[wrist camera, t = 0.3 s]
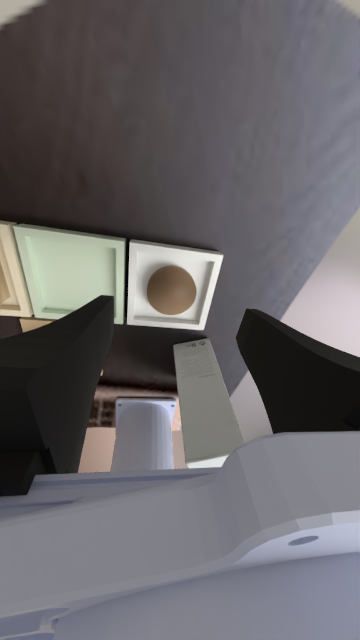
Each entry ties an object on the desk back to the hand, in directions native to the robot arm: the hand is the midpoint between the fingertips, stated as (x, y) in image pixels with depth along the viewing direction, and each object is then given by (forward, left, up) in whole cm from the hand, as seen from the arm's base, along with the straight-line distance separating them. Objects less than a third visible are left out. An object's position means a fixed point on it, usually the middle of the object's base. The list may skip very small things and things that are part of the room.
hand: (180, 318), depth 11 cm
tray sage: (-2, +8, -9) cm, 12 cm away
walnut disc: (-2, 0, -8) cm, 8 cm away
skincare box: (-11, -4, -9) cm, 15 cm away
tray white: (-2, 0, -9) cm, 9 cm away
